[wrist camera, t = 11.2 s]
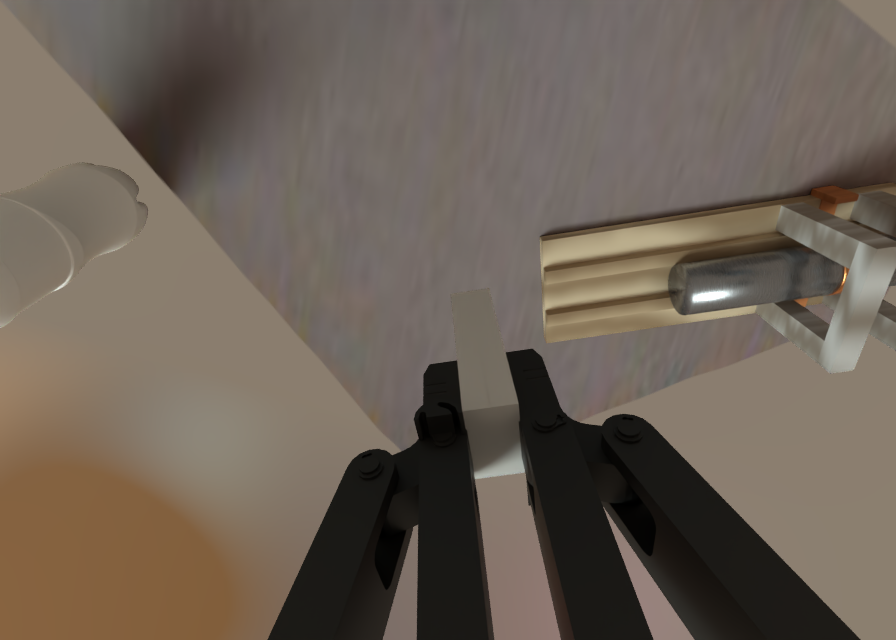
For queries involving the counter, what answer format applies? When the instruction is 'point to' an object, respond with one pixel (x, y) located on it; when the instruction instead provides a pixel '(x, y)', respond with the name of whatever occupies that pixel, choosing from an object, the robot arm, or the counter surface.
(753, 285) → the tube
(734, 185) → the counter surface
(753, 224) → the rail
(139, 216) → the water bottle
